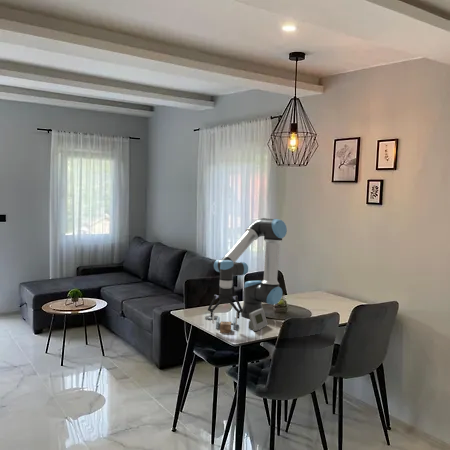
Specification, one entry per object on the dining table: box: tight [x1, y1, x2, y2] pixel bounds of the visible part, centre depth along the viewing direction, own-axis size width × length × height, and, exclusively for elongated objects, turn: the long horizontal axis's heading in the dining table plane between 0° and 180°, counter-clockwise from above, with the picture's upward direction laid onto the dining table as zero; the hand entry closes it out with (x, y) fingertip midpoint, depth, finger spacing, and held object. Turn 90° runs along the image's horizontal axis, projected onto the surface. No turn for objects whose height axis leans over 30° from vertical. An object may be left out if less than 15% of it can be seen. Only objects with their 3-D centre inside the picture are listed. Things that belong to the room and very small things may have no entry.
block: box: [219, 321, 232, 334], centre depth 267 cm, size 6×6×5 cm
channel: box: [215, 316, 236, 330], centre depth 277 cm, size 11×12×4 cm
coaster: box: [204, 314, 219, 321], centre depth 295 cm, size 9×9×1 cm
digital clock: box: [248, 308, 268, 332], centre depth 275 cm, size 16×9×11 cm, turn 137°
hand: (224, 323), depth 266 cm, fingers open, 13 cm apart
